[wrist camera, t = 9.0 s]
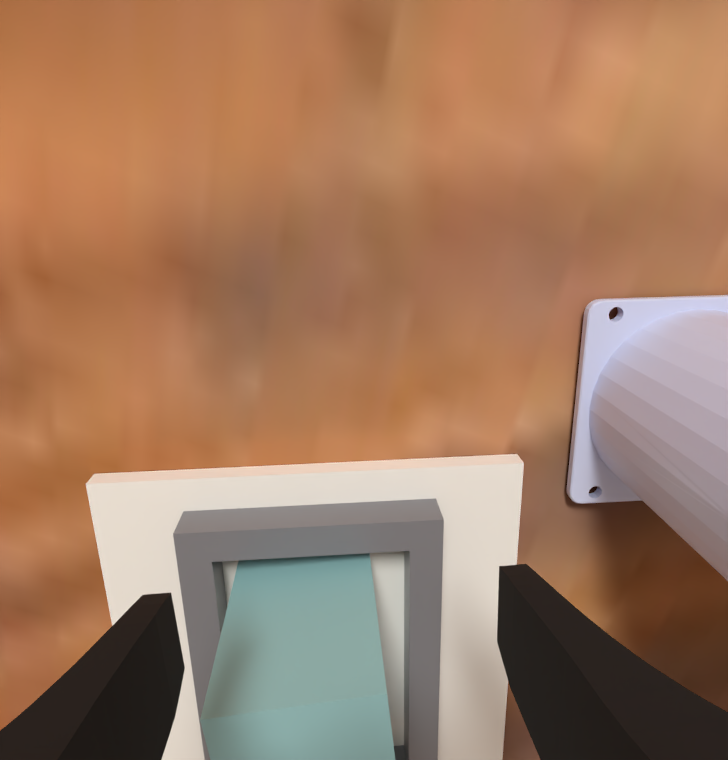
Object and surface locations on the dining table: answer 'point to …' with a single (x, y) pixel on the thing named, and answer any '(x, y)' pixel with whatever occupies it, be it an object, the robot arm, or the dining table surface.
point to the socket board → (334, 537)
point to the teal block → (299, 664)
